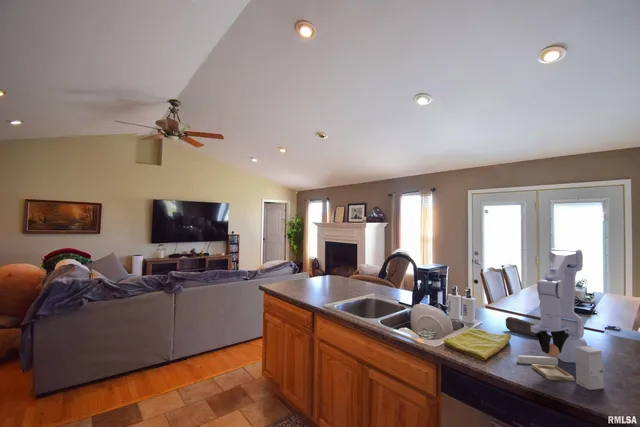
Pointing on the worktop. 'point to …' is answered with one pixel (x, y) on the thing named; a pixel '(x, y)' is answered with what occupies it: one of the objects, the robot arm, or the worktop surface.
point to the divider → (537, 360)
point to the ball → (553, 350)
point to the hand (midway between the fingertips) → (551, 352)
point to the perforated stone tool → (519, 326)
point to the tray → (553, 372)
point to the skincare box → (589, 367)
